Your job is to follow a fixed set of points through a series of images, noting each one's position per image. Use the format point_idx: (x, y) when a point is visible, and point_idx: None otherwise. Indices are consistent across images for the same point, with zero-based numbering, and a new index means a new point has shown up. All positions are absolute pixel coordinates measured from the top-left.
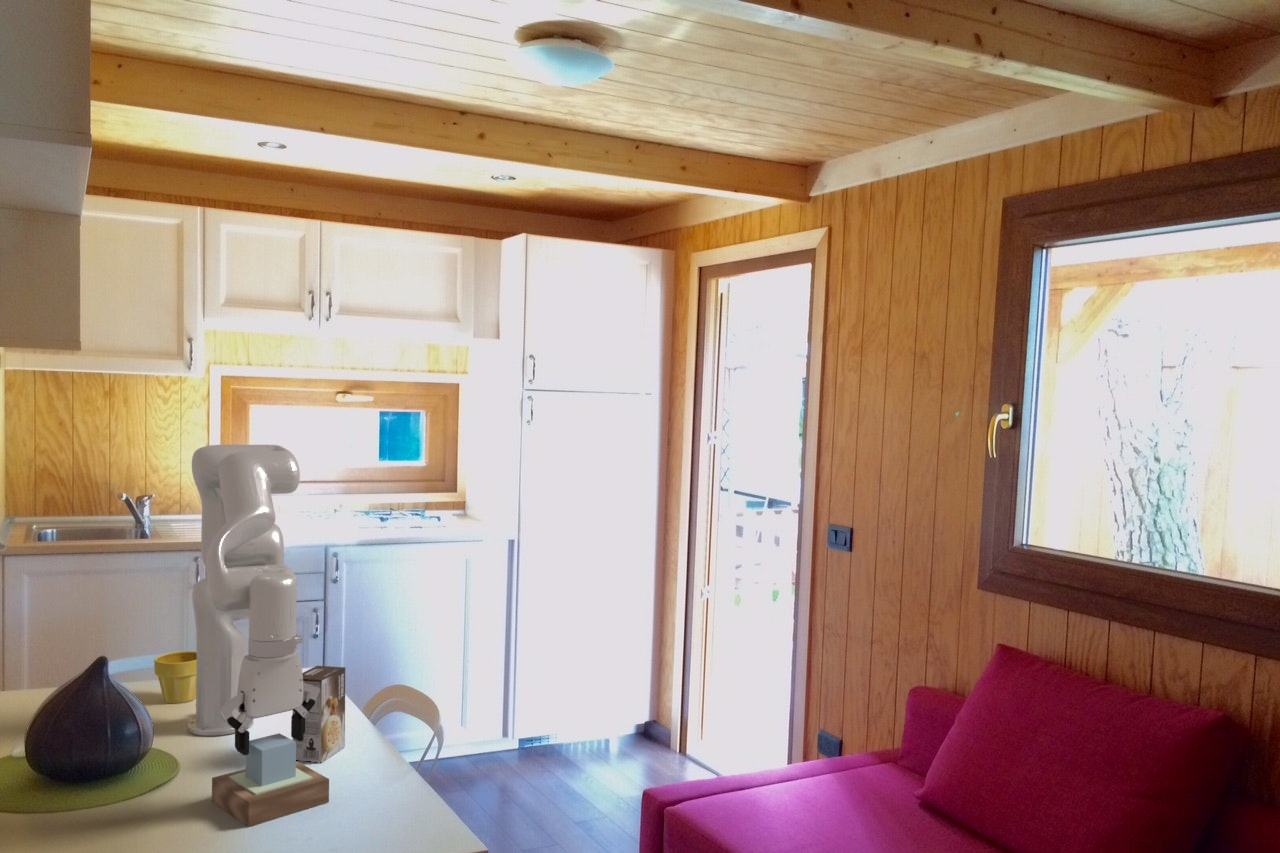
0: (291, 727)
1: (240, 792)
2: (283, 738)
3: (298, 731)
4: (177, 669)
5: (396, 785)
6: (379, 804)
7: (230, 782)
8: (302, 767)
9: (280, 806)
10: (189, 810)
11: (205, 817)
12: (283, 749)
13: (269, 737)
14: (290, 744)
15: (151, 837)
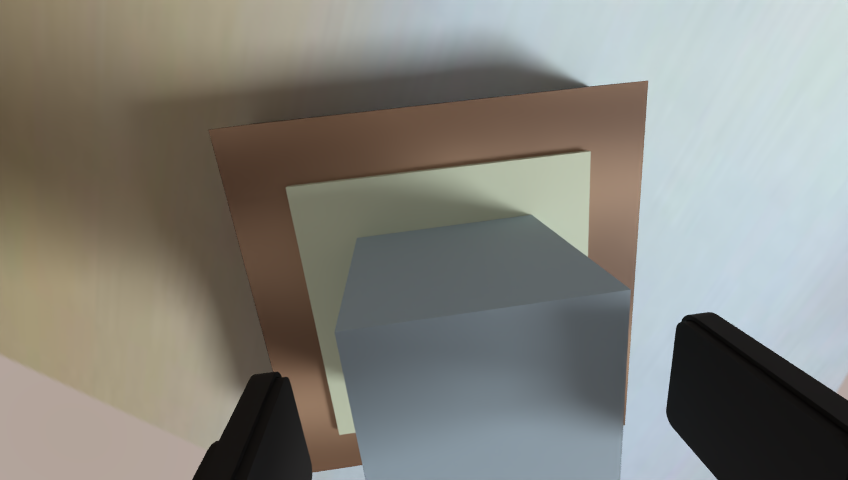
0: (735, 362)
1: (294, 379)
2: (593, 410)
3: (715, 464)
4: None
5: (798, 359)
6: (675, 448)
7: (282, 247)
8: (617, 256)
9: None
10: (153, 166)
11: (203, 265)
12: None
13: (525, 341)
14: None
15: (8, 323)
